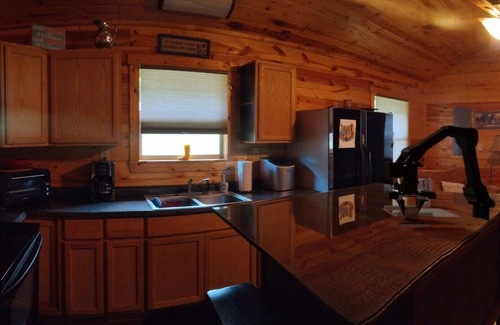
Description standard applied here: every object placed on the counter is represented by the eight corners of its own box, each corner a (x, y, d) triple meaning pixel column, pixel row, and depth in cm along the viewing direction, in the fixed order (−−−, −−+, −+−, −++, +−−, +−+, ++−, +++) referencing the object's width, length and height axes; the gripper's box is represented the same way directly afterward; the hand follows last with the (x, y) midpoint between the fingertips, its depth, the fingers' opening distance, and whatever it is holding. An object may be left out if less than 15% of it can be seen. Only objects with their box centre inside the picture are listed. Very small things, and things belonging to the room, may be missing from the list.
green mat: (429, 226, 129) (429, 224, 128) (400, 226, 129) (400, 224, 129) (417, 219, 139) (417, 218, 139) (391, 219, 140) (391, 217, 140)
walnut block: (418, 218, 132) (418, 208, 132) (405, 218, 132) (405, 208, 132) (413, 215, 137) (413, 206, 137) (400, 215, 137) (400, 206, 137)
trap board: (460, 220, 138) (460, 213, 138) (394, 219, 140) (394, 212, 140) (439, 211, 155) (440, 205, 155) (382, 211, 157) (382, 205, 157)
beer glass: (428, 207, 166) (428, 178, 165) (434, 210, 159) (435, 179, 158) (414, 207, 167) (414, 178, 166) (419, 209, 160) (420, 179, 159)
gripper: (424, 175, 141) (424, 211, 142) (380, 176, 142) (380, 211, 143) (437, 178, 130) (436, 217, 130) (389, 179, 131) (389, 217, 132)
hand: (409, 215), depth 134 cm, fingers closed on walnut block, 5 cm apart
